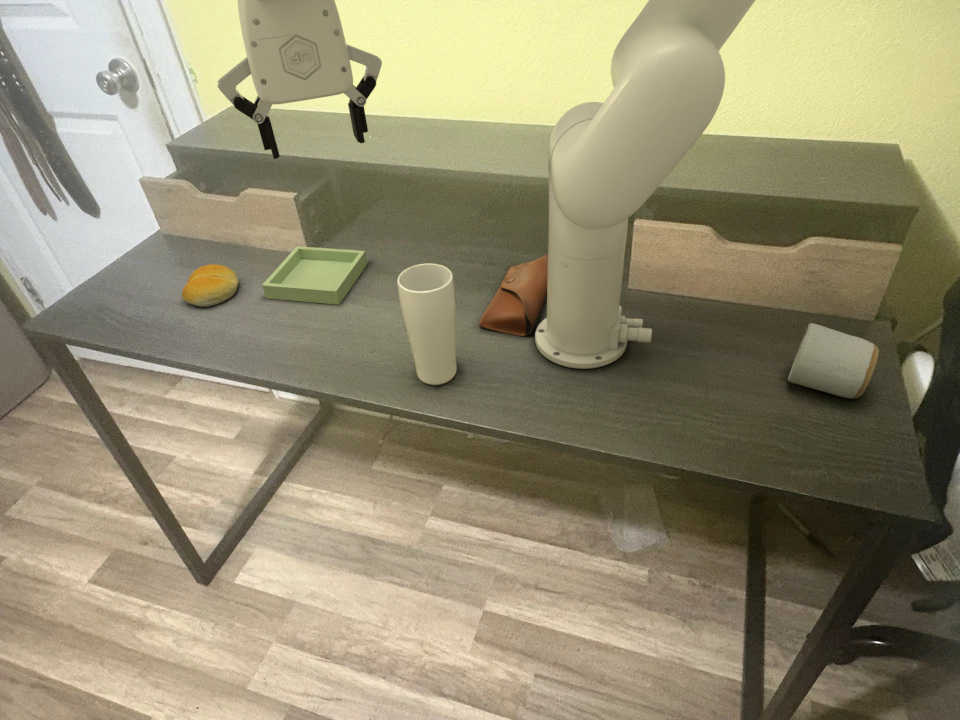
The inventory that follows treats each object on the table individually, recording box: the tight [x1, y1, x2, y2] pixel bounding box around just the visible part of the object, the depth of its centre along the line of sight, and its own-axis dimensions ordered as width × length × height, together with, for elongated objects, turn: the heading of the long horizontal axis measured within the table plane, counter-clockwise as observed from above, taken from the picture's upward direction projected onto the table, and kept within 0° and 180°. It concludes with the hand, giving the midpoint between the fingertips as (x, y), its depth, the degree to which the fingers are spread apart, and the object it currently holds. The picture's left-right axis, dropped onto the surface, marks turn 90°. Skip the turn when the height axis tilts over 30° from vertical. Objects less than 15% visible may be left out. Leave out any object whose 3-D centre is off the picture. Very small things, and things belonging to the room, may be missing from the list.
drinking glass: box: [396, 262, 457, 386], centre depth 79 cm, size 7×7×15 cm
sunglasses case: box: [478, 253, 548, 338], centre depth 96 cm, size 18×7×7 cm, turn 163°
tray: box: [261, 245, 369, 306], centre depth 104 cm, size 13×13×2 cm
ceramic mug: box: [787, 322, 880, 399], centre depth 77 cm, size 11×8×8 cm
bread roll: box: [181, 263, 240, 307], centre depth 102 cm, size 8×9×4 cm
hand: (318, 147), depth 72 cm, fingers open, 9 cm apart
